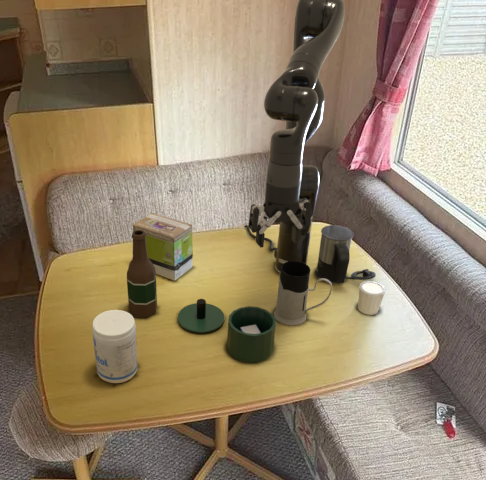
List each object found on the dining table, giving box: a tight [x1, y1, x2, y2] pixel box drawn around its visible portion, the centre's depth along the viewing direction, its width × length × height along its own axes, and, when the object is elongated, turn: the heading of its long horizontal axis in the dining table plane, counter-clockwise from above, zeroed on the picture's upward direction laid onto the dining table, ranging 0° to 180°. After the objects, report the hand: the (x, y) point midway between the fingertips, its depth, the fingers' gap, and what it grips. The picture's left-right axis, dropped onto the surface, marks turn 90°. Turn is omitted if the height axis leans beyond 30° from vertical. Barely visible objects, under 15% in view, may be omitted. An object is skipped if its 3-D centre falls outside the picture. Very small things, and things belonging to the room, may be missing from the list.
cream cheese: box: [239, 324, 261, 334], centre depth 137 cm, size 6×4×4 cm
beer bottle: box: [126, 230, 158, 319], centre depth 144 cm, size 8×8×24 cm
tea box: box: [132, 212, 194, 281], centre depth 165 cm, size 15×10×15 cm, turn 58°
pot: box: [226, 305, 277, 364], centre depth 136 cm, size 11×11×8 cm
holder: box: [273, 261, 333, 326], centre depth 145 cm, size 9×14×15 cm, turn 69°
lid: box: [177, 298, 226, 334], centre depth 146 cm, size 12×12×6 cm
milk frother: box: [314, 224, 377, 284], centre depth 162 cm, size 14×16×15 cm
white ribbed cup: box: [357, 280, 386, 316], centre depth 151 cm, size 7×7×7 cm
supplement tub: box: [91, 309, 139, 384], centre depth 126 cm, size 10×10×15 cm
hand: (277, 243), depth 130 cm, fingers open, 8 cm apart
